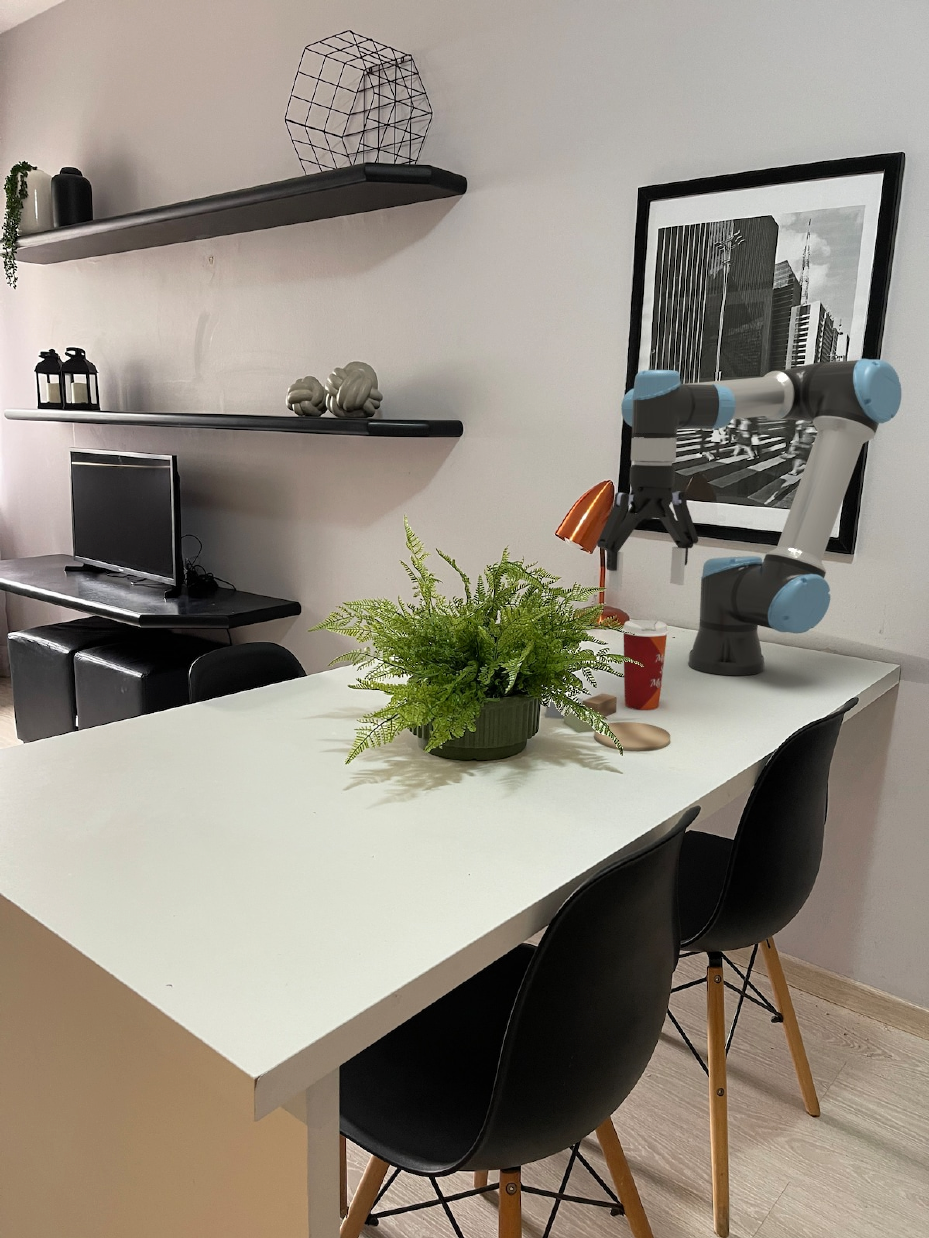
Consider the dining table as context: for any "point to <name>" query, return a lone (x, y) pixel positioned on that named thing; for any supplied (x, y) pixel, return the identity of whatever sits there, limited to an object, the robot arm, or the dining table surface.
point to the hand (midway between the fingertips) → (646, 586)
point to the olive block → (577, 724)
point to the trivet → (635, 736)
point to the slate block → (553, 712)
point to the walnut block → (602, 704)
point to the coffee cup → (644, 662)
